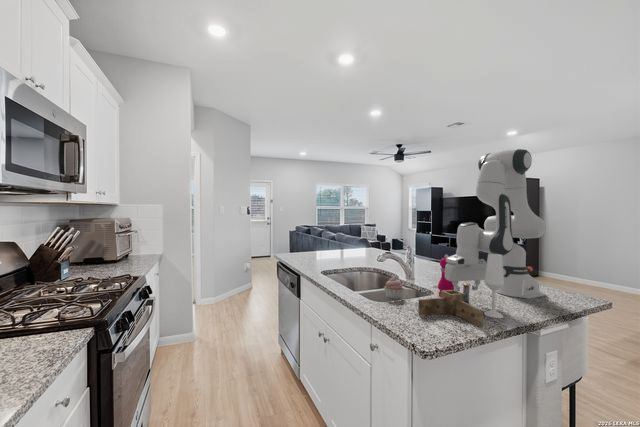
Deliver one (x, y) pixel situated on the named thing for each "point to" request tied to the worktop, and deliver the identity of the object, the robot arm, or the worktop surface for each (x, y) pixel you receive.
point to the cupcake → (393, 289)
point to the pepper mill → (443, 282)
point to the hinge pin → (466, 292)
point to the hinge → (451, 307)
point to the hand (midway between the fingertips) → (466, 290)
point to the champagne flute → (494, 280)
